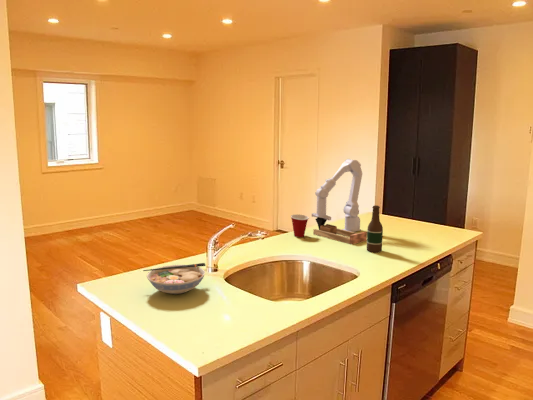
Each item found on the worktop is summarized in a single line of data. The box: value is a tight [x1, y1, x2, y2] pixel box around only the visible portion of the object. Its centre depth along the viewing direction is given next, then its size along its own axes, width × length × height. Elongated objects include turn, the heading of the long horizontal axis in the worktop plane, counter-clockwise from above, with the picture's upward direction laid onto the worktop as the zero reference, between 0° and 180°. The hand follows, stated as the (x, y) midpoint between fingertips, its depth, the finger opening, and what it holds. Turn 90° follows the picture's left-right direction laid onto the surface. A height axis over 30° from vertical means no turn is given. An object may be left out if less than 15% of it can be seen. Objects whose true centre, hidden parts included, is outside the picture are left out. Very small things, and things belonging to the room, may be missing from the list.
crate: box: [320, 223, 338, 235], centre depth 273 cm, size 7×7×5 cm
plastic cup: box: [290, 214, 310, 238], centre depth 268 cm, size 11×11×12 cm
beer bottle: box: [366, 205, 384, 254], centre depth 237 cm, size 8×8×24 cm
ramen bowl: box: [142, 262, 206, 295], centre depth 181 cm, size 25×23×8 cm
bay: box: [312, 227, 367, 245], centre depth 266 cm, size 13×30×5 cm, turn 40°
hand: (320, 230), depth 278 cm, fingers closed
